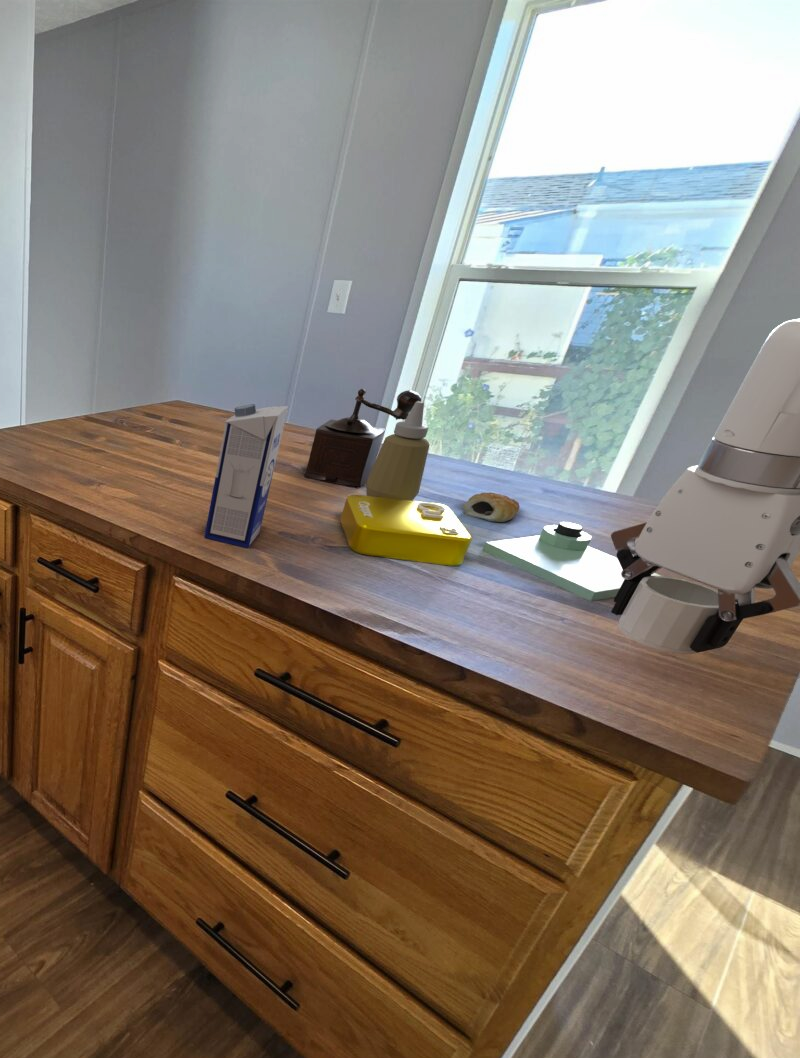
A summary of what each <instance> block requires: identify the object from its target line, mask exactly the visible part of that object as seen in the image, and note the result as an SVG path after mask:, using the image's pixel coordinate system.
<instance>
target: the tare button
mask: <svg viewBox="0 0 800 1058" xmlns="http://www.w3.org/2000/svg"><path fill="white" fill-rule="evenodd" d="M581 531H583V526H581V524H577V523H574V522H570V521H560V522H559V523H558V527H557V529H556V531H555V532H556V533H558V534H561V535H564V536H568V537H576V538H577V537H579V535H580V533H581Z"/></svg>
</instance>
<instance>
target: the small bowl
mask: <svg viewBox="0 0 800 1058" xmlns="http://www.w3.org/2000/svg"><path fill="white" fill-rule="evenodd" d="M718 612H719V606H718V589H716V588H713V587H711V586H708V585H705V584H703V583H700V582H696V581H693V580H688V579H683V578H678V577H673V576H668V575H667V576H666V575H661V576H649V577H644V578H643V579H642V580H641V581H640V583H639V585H638V586H637V588H636V590H635V592H634V594H633V596H632V597H631V599H630V601H629V603H628V605H627V607H626V608H625V610H624V612H623V614H622V615H620V618H619V619H618V622H617V624H616V627H617V630H618V631H619V632H620V633H621V634H622V635H624V636H625V637H626V638H628V639H630V640H632V641H633V642H636V643H638V644H640V645H642V646H646V647H648V648H651V649H654V650H657V651H661V652H665V653H672V654H677V655H694V654H698V653H697V652H695V651H693V650H691V648H690V645H691V644H692V642H693V641H694V639H695V637H696V636H697V634H698V633H699V631H700V629H701V628H702V626H703V625H704V623H705V621H706V620H707V618H708V617H709V616H712V615H717V614H718Z"/></svg>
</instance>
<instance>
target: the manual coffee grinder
mask: <svg viewBox="0 0 800 1058" xmlns="http://www.w3.org/2000/svg"><path fill="white" fill-rule="evenodd" d="M366 394H367V391H366V389H365V388H360V389H359V390H357V396H356V397H355V401H356V402H355V404H354V409H353V412H352V414H351V416H346V417H343V418H341V419H329V420H328V421H326V422H325V423H323V424H322V425H319V426H318V427H317V428H316V430H315V433H314V438H313V441H312V445H311V449H310V454H309V458H308V461H307V466H306V470H305V472H304V477H305V478H309V479H314V480H318V481H323V482H327V483H331V484H339V485H344V486H350V487H356V488H360V487H363V486H364V485H366V482H367V480H368V477H369V475H370V473H371V470H372V468H373V466H374V463H375V461H376V459H377V456H378V454H379V452H380V449H381V446H382V445H381V444H382V442H383V438H384V436H385V432H386V428H383V427H379V426H374V425H371V424H370V423H369V422H367V421H366V420H365V419H363V418H359V413H360V411H361V408H362V407H361V406H362V404H363V405H364V406H366V407H367V408H370V409H372V410H373V409H374V410H376V411H379V412H381V413H385V414H387V415H389V416H391V417H393V418H394V419H395V421H398V420H402V421H405V420H406V418H407V416H408V415H409V413H410V411H411V409H412V408H413V406H414V404H415V403H416V402H417V401H419V402H422V397H421V396H420V394H419V393H418V392H417V391H414V390H411V389H408V390H403V391H401V392H400V393H399V394H398V395H397V396H396V407H395V409H394V410H392V409H390V408H389V407H386V406H383V405H380V404H376V403H373V402H371V401H368V400H367V399H365V395H366Z"/></svg>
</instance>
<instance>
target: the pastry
mask: <svg viewBox="0 0 800 1058" xmlns="http://www.w3.org/2000/svg"><path fill="white" fill-rule="evenodd" d="M461 508H462V510H463V514H464V515H466V516H470V517H472V518H475V519H482V520H485V521H487V522H495V523H505V522H507V521H511V520H512V519H513V518H514V517H515V516H516V514H517V513H518V512H519V510H520V503H519V502H518V500H516V499H514V498H511V497H510V496H508V495H505V494H501V493H496V492H491V491H490V492H480V493H476V494H474V495H472V496H471V497H469V498H468V500H467V502H465V503H464V504H462V506H461Z"/></svg>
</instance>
